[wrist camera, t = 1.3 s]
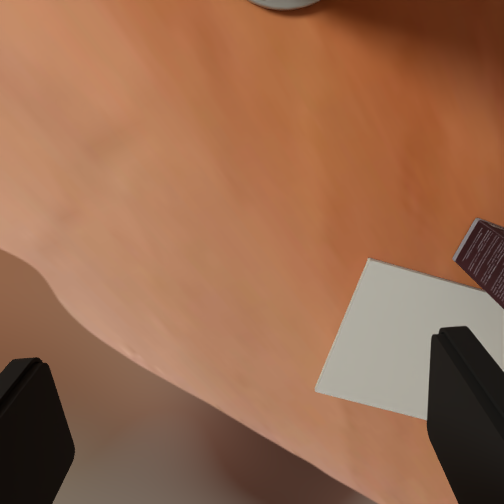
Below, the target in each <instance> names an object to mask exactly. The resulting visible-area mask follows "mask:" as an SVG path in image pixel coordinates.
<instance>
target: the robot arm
mask: <svg viewBox="0 0 504 504" xmlns="http://www.w3.org/2000/svg"><path fill="white" fill-rule="evenodd" d="M248 1H249V2H251V3H253V4H255V5H258V6H261V7H263V8H267V9H273V10H280V11H282V10H296V9H300V8H303V7H307V6H310V5H312V4H314V3H316V2H318V1H320V0H248ZM427 431H428V435H429V439H430V441H431V444H432V446H433V448H434V450H435V452H436V455H437V457H438V459H439V461H440V464H441V466H442V468H443V470H444V472H445V475H446V477H447V479H448V481H449V484H450V486H451V488H452V490H453V493H454V495H455V497H456V499H457V501H458V504H504V372H503V370H502V369H501V368H500V367H499V365H498V364H497V363H496V362H495V360H494V359H493V358H492V356H491V355H490V354H489V353H488V351H487V350H486V349H485V348H484V346H483V345H482V344H481V343H480V341H479V340H478V339H477V338H476V336H475V335H474V334H473V333H472V331H471V330H470V329H469V328H468V327H467V326H455V327H442V328H440V330H439V333H438V334H433V335H432V337H431V350H430V369H429V389H428V409H427ZM74 453H75V447H74V443H73V440H72V437H71V433H70V430H69V428H68V424H67V421H66V418H65V415H64V411H63V408H62V405H61V402H60V399H59V396H58V393H57V389H56V386H55V383H54V380H53V377H52V374H51V371H50V368H49V365H48V364H47V363H43V362H42V360H40V358H37V357H36V358H23V359H14V360H12V361H11V362H10V363H9V364H8V365H7V366H6V367H5V369H4V370H3V371H2V372H1V373H0V504H52V503H53V501H54V499H55V497H56V495H57V493H58V491H59V489H60V487H61V485H62V483H63V480H64V478H65V476H66V474H67V472H68V470H69V468H70V466H71V464H72V462H73V459H74Z"/></svg>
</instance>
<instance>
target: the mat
mask: <svg viewBox="0 0 504 504" xmlns="http://www.w3.org/2000/svg"><path fill="white" fill-rule="evenodd" d="M455 326H467V327H468V328H469V329H470V330H471V331H472V333H473V334H474V335H475V336H476V338H477V339H478V340H479V341H480V343H481V344H482V345H483V346H484V348H485V349H486V350H487V351H488V353H489V354H490V355H491V356H492V358H493V359H494V360H495V362H496V363H497V364H498V365H499V367H500V368H501V369H502V370H503V372H504V309H503V308H502V307H501V306H500V305H499V304H498V303H497V302H496V301H495V300H494V299H493V298H492V297H491V296H490V295H489V294H488V293H487V292H486V291H484V290H482V289H479V288H475V287H471V286H468V285H464V284H461V283H457V282H454V281H450V280H447V279H443V278H440V277H436V276H432V275H429V274H425V273H422V272H418V271H415V270H411V269H408V268H404V267H401V266H397V265H394V264H390V263H386V262H383V261H379V260H376V259H372V258H368V260H367V262H366V265H365V267H364V270H363V272H362V275H361V277H360V279H359V282H358V284H357V287H356V289H355V292H354V294H353V296H352V299H351V301H350V304H349V306H348V309H347V311H346V313H345V316H344V318H343V321H342V323H341V326H340V328H339V330H338V333H337V335H336V338H335V340H334V343H333V345H332V347H331V350H330V352H329V355H328V357H327V359H326V362H325V364H324V367H323V369H322V372H321V374H320V376H319V379H318V381H317V384H316V386H315V392H318V393H322V394H326V395H330V396H334V397H338V398H342V399H346V400H350V401H354V402H358V403H361V404H365V405H369V406H373V407H377V408H381V409H385V410H389V411H393V412H397V413H401V414H405V415H409V416H413V417H416V418H420V419H424V420H427V409H428V389H429V369H430V350H431V337H432V335H433V334H438V333H439V330H440V328H442V327H455Z"/></svg>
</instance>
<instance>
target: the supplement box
mask: <svg viewBox="0 0 504 504" xmlns="http://www.w3.org/2000/svg"><path fill="white" fill-rule="evenodd" d="M453 260H454V261H455V262H456V263H457V264H458V265H459V266H460V267H461V268H462V269H463V270H464V271H465V272H466V273H467V274H468V275H469V276H470V277H471V278H472V279H473V280H474V281H475V282H476V283H477V284H478V285H479V286H480V287H481V288H482V289H483V290H484V291H486V292H487V293H488V294H489V295H490V296H491V297H492V298H493V299H494V300H495V301H496V302H497V303H498V304H499V305H500V306H501V307H502V308H503V309H504V227H501V226H498V225H496V224H493V223H491V222H488V221H485V220H483V219H480V218H475V220H474V222H473V223H472V225H471V227H470V229H469V230H468V232H467V234H466V236H465V237H464V239H463V241H462V243H461V244H460V246H459V248H458V249H457V251H456V253H455V255H454V256H453Z"/></svg>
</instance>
